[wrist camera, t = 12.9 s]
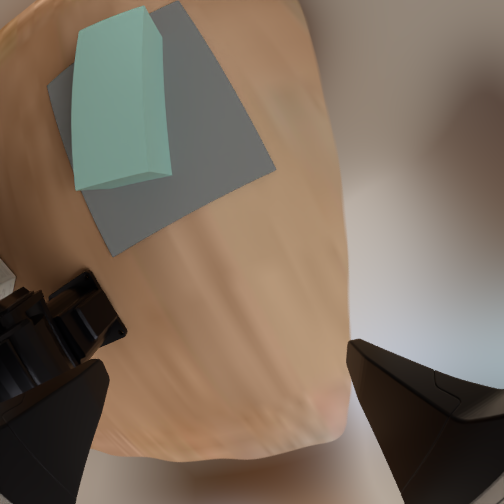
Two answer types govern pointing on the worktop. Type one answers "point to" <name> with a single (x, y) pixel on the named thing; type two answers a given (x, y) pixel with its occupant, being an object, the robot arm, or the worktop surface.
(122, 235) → the mat
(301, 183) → the worktop surface
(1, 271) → the small box
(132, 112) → the teal block
